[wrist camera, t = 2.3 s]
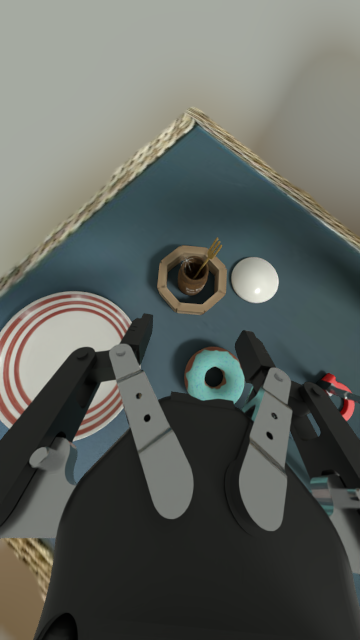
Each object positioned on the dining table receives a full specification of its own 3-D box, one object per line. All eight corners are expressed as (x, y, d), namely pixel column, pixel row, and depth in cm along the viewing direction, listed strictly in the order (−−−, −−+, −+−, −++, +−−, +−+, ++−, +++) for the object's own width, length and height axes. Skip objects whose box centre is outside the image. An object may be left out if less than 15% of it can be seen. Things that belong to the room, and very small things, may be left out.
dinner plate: (45, 278, 30) (29, 271, 27) (162, 318, 30) (160, 316, 27) (-20, 404, 26) (-48, 414, 23) (113, 450, 26) (105, 466, 23)
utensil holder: (172, 278, 31) (172, 242, 19) (196, 266, 32) (209, 224, 20) (185, 300, 31) (192, 277, 19) (208, 288, 31) (230, 258, 19)
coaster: (253, 250, 33) (255, 248, 32) (285, 283, 32) (287, 282, 32) (221, 277, 32) (222, 276, 31) (253, 312, 31) (255, 312, 30)
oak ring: (193, 243, 33) (195, 234, 30) (233, 287, 32) (240, 282, 29) (147, 279, 31) (144, 273, 28) (188, 327, 30) (189, 325, 27)
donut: (188, 341, 30) (191, 342, 26) (241, 351, 30) (252, 353, 26) (178, 398, 28) (179, 408, 24) (234, 408, 28) (244, 420, 24)
